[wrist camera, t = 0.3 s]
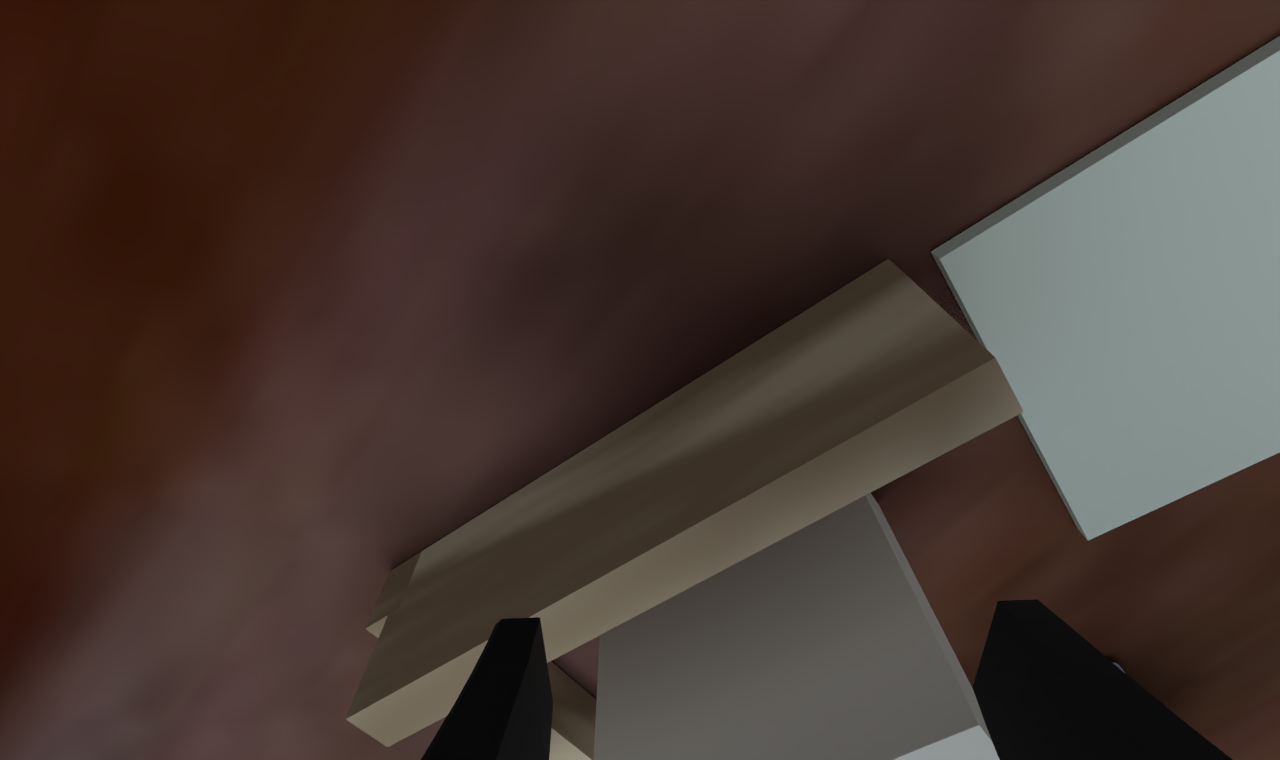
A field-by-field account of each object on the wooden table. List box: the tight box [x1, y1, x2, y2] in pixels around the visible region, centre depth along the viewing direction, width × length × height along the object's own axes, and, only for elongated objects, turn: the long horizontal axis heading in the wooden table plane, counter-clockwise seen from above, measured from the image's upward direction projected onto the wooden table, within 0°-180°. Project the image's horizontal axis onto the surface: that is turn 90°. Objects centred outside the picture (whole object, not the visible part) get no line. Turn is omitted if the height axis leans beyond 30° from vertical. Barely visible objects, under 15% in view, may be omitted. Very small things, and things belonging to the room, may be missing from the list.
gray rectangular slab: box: [594, 493, 1000, 760], centre depth 19 cm, size 2×10×9 cm, turn 126°
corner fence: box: [346, 259, 1024, 760], centre depth 21 cm, size 14×19×6 cm
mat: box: [931, 36, 1280, 540], centre depth 18 cm, size 12×12×1 cm
